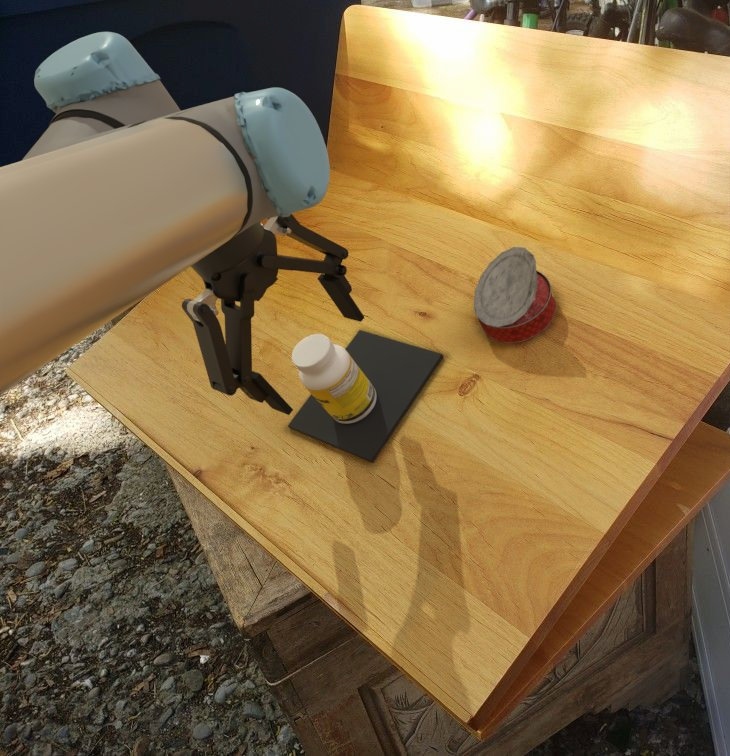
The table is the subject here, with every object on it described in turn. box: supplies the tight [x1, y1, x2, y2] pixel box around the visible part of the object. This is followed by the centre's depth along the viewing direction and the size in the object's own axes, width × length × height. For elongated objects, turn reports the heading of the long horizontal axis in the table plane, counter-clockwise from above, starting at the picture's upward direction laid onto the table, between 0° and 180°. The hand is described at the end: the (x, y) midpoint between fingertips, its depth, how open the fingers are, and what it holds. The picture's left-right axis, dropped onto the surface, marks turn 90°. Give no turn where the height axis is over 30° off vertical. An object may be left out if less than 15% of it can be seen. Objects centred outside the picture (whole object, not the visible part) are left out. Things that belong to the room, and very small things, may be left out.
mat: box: [287, 329, 444, 463], centre depth 85 cm, size 16×14×1 cm
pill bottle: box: [291, 333, 377, 424], centre depth 79 cm, size 6×6×11 cm
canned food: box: [473, 246, 557, 344], centre depth 83 cm, size 11×10×10 cm
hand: (320, 361), depth 77 cm, fingers open, 13 cm apart
